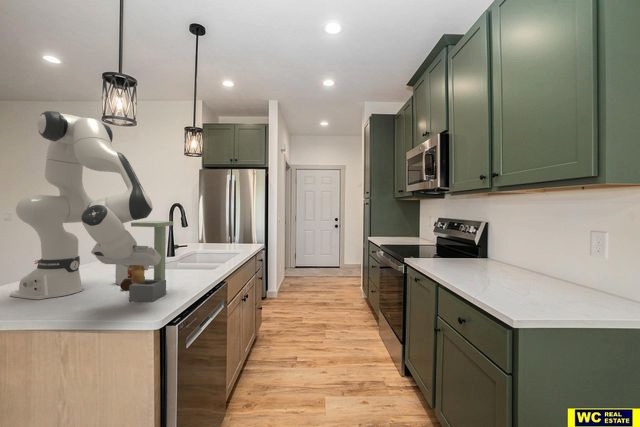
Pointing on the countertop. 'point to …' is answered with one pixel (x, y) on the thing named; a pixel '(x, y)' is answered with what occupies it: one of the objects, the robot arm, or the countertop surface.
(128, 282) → the bolt
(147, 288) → the socket
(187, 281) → the countertop surface
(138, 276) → the peg
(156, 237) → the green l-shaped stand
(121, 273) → the milk bottle
